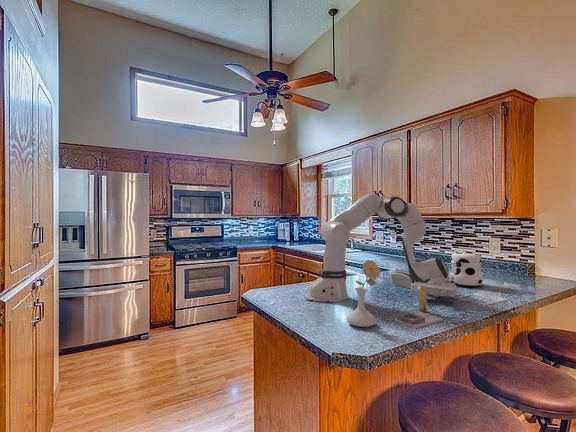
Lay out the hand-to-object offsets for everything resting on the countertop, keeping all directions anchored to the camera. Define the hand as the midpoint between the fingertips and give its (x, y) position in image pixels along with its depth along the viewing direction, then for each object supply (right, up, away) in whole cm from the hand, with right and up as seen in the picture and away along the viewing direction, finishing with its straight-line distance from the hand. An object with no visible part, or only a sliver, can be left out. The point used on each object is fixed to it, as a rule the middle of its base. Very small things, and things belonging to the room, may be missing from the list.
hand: (429, 292), depth 144 cm
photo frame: (+30, -6, +10) cm, 33 cm away
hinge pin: (-7, -6, -9) cm, 13 cm away
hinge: (+3, -6, +39) cm, 39 cm away
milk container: (+40, -6, +40) cm, 57 cm away
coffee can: (+17, -6, +48) cm, 51 cm away
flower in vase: (-37, -6, -24) cm, 44 cm away
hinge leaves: (-14, -6, -20) cm, 25 cm away
